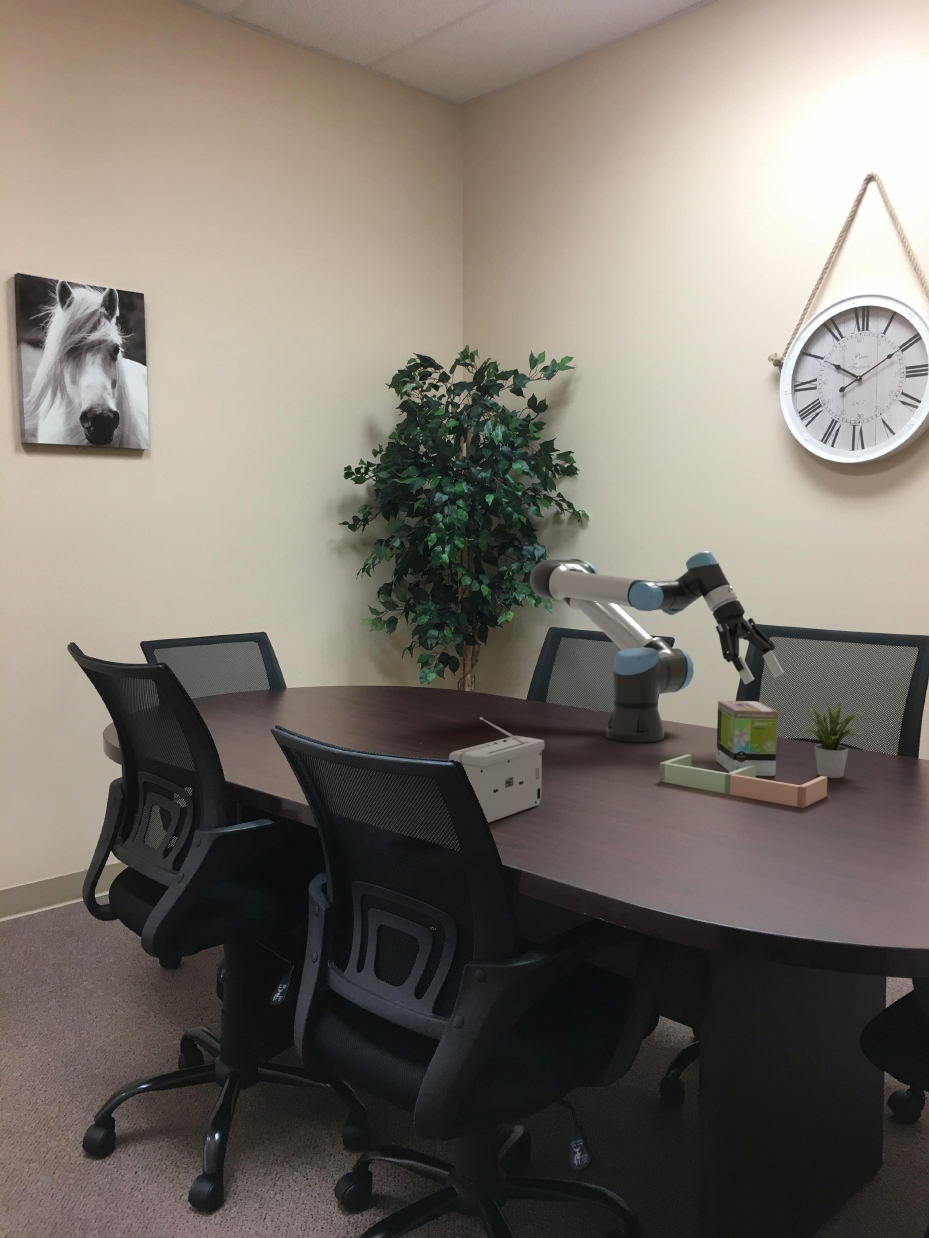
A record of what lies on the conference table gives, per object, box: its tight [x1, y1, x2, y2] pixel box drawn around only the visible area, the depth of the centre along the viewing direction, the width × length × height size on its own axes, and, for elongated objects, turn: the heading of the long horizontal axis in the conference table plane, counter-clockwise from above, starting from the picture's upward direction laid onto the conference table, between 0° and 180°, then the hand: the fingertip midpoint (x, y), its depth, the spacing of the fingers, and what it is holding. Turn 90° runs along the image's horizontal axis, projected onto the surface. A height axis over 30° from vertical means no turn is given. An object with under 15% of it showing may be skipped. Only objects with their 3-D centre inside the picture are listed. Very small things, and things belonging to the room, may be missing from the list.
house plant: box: [803, 702, 865, 779], centre depth 209 cm, size 14×14×16 cm
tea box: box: [715, 700, 779, 777], centre depth 216 cm, size 15×10×15 cm
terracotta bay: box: [729, 774, 828, 809], centre depth 193 cm, size 15×12×4 cm
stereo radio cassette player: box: [448, 716, 546, 824], centre depth 180 cm, size 21×8×20 cm, turn 141°
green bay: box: [659, 753, 757, 795], centre depth 204 cm, size 16×12×4 cm
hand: (764, 678), depth 239 cm, fingers open, 13 cm apart
